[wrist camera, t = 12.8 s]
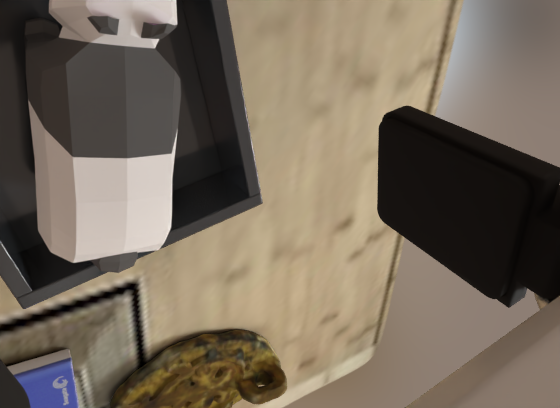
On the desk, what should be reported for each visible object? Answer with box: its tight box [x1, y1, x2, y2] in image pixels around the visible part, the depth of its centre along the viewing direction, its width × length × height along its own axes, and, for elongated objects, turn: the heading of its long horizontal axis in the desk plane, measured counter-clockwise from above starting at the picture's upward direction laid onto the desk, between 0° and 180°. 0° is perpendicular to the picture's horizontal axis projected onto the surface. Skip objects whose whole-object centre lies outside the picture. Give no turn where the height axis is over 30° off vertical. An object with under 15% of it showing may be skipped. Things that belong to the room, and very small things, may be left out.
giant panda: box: [24, 0, 181, 273], centre depth 18 cm, size 15×6×10 cm, turn 169°
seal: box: [110, 330, 287, 408], centre depth 36 cm, size 9×5×15 cm
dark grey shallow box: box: [0, 0, 263, 309], centre depth 21 cm, size 18×14×5 cm
